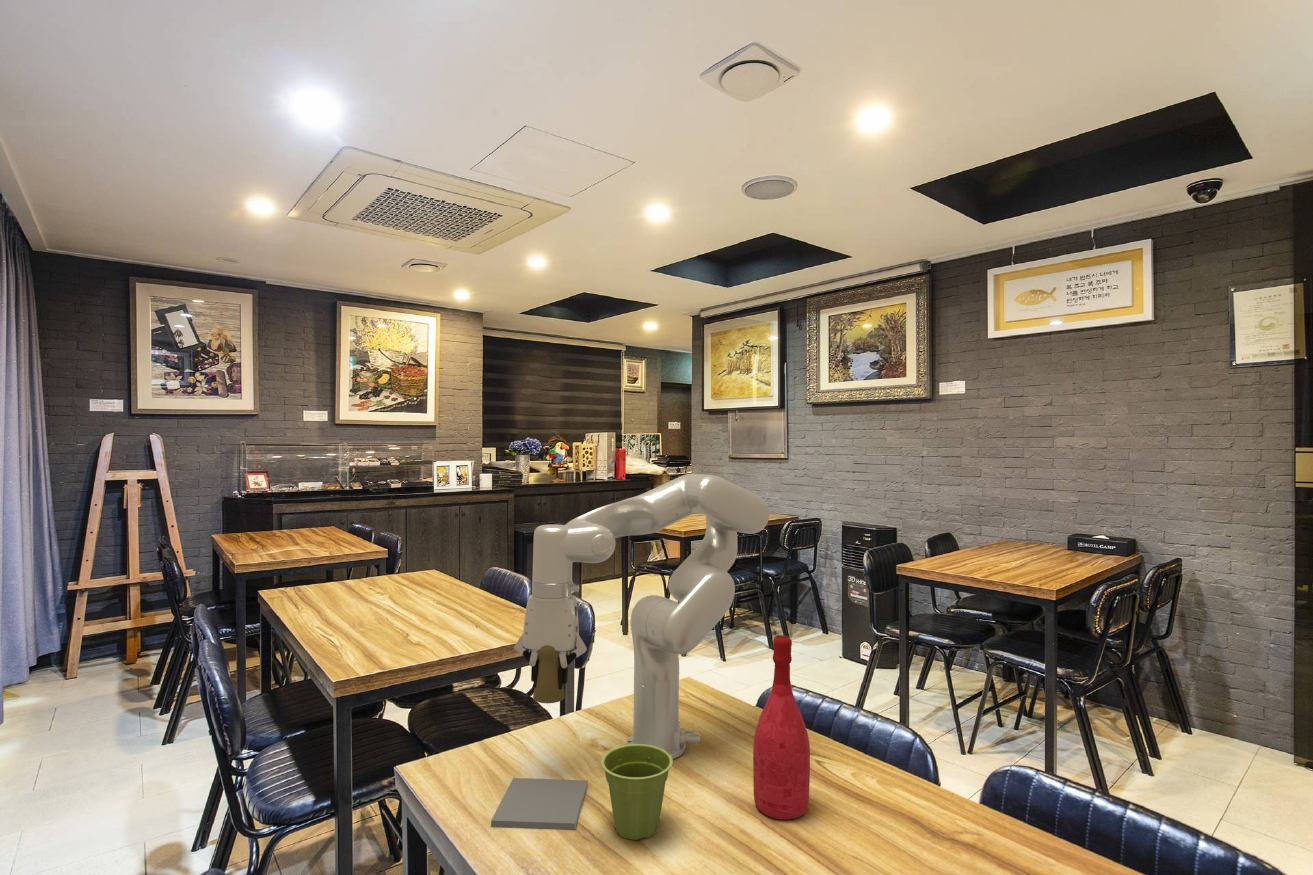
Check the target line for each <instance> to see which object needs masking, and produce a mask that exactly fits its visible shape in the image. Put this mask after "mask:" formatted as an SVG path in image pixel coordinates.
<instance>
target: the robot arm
mask: <svg viewBox="0 0 1313 875" xmlns="http://www.w3.org/2000/svg"><path fill="white" fill-rule="evenodd" d="M695 514H699V515H704V516H705V522H706V523H705V525H706V529H705V534H704V537H703V539H702V541H701V542H700V543H699V544H698V546H697V547H696V548H695V549H694V550H693V552H692V553H690V554H689V556H687V557H686V558H685V559H684V560H683V561H682V563H681V564H679V566H678V567H677V568H676V569H674V572H672V574H671V576H670V578H669V581H668V590H669V594H670V596H671V597H672V598H673V599H675V600H676V601H675V600H672V599H670V598H667V597H664V596H660V595H658V594H657V595H656V594H655V595H654V594H651V595H647V596H643V597H642V598H640V599H639V600H638V601H637V602H636V603H635V604H634V606H633V608H632V611H631V615H630V631H631V638H632V647H633V658H634V661H633V662H634V663H633V667H634V668H633V713H632V714H633V715H632V716H633V720H632V721H633V725H632V726H633V728H632V729H633V731H632V732H633V734H631V735H629V737H627V738H626V740H625V745H630V744H646V745H652V746H656V747H659V748H661V749H663V750H665V751H667V752H668V753H669V754H670V755H671V757H672V759H673V760H675V759H677V758H678V757H681V756H682V755H683V754H684V753H685V751H686V745H687V744H686V743H691V744H701V733H700V732H698V733H697V732H695V729H692V728H691V729H690V728H689V729H684V728H683V727H681V721H680V720H679V718H680V717H679V715H680V712H679V710H680V705H679V704H680V657H679V655H684V654H685V655H686V654H688V653H690V652H691V651H693V650H694V649H695V648H696V647H698V645H700V643H701V642H702V641H703V640H704V639H705V638H706V637H707V635H708V634H709V633H710V632H711V631H712V630H713V629H714V628H715V626H717V624H718V623H719V621H720V620H722V619H723V617H724V616H725V615H726V614H727V612H728V611H729V609H730V608H731V606H732V604H733V602H734V599H735V592H736V586H735V581H734V579H733V578H732V576H731V574H730V573H728V571H729V570H730V569H731V567H732V566H733V565H734V563H735V561H736V559H737V556H738V533H741V534H742V533H743V534H748V535H751V534H752V535H753V534H757V533H760V532H761V531H763V529H765V527H766V526H767V525H768V522H769V520H770V510H769V506H768V505H767V503H766V501H765V500H764V499H763V498H762V497H761V496H759V495H758V494H756V493H754V492H751V491H749V490H748V489H745V488H744V487H741V486H739V485H737V484H736V483H733V482H731V481H729V480H728V479H727V480H726V479H725V478H722V477H721V476H717V475H714V474H703V473H702V474H701V473H687V474H683V475H681V476H678V477H676V478H674V479H672V480H670V481H668V482H665V483H664V484H663V483H662V484H661V485H659V486H657V487H655V488H653V489H650V490H648V491H646V492H644V493H641V494H638V495H636V496H633V497H629V498H625V499H622V500H620V501H617V502H613V503H609V504H607V505H603V506H600V507H597V508H595V509H593V510H592V509H591V511H588V512H586V513H584V514H582V515H580V516H577V517H575V518H573V519H571V520H570V521H568V522H567V523H566V524H542V525H539V526H537V527H536V528H535V529H534V531H533V532H534V533H533V549H532V551H533V552H532V583H531V594H530V595H529V596H528V599H527V603H526V607H525V608H526V609H525V613H524V614H525V615H524V620H523V628H522V629H523V632H522V634H521V636H520V637H519V639H518V640H517V641H516V643H515V644H514V646H513V648H514V650H516V652H518V653H520V655H522V656H523V657H524V658H525V660H526V661H527V662H528V664H529V666H530V667H531V669H530V671H531V672H530V682H532V683H533V684H532V685H533V689H534V688H536V683H537V677H538V662H539V656H538V653H537V651H538V650H540V648H541V647H542V646H545V645H549V646H552V647H554V648H555V650H556V651H559V652H560V654H559V656H560V662H561V663H560V668H558V685H559V687H558V688H559V689H562V686H563V684H564V685H566V684H567V683H568V680H569V679H568V678H569V677H568V676H569V672H568V671H569V665H571V663H572V662H573V661H575V659H577V658H578V657H580V656H581V655H583V654H585V653H586V652H587V646H586V644H585V643H584V641H583V639H582V638H581V636H580V634H579V632H580V630H579V626H580V625H579V612H578V611H579V610H578V603H577V602H578V601H577V597H576V595H574V594H573V593H579V592H580V584H576V583H574V582H573V581H574V580H573V563H587V564H598V563H602V562H604V561H605V562H606V561H607V560H608V559H609V558H611V556H612V555H613V554H614V552H615V548H616V539H617V538H623V537H626V536H627V537H628V536H643V535H649V534H650V535H651V534H655V533H657V532H660V531H661V530H664V529H666V528H667V527H669V526H671V525H673V524H675V523H677V522H679V521H681V520H683V519H686V518H687V517H690V516H692V515H695ZM572 594H573V595H572ZM575 647H576V649H575V650H574V648H575Z"/></svg>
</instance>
